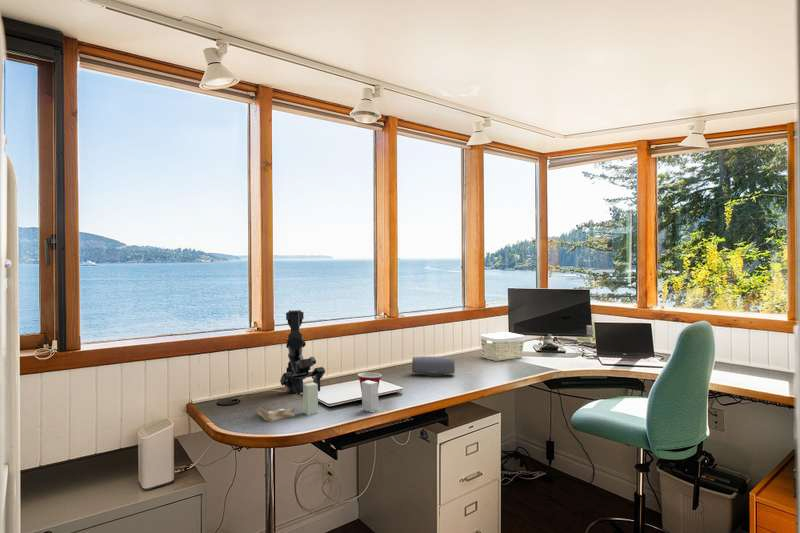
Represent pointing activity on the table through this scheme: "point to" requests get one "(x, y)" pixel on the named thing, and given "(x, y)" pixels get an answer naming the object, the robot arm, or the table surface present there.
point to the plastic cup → (369, 377)
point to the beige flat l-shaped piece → (275, 414)
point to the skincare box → (370, 396)
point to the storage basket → (502, 346)
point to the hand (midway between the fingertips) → (309, 393)
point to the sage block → (310, 398)
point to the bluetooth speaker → (433, 365)
